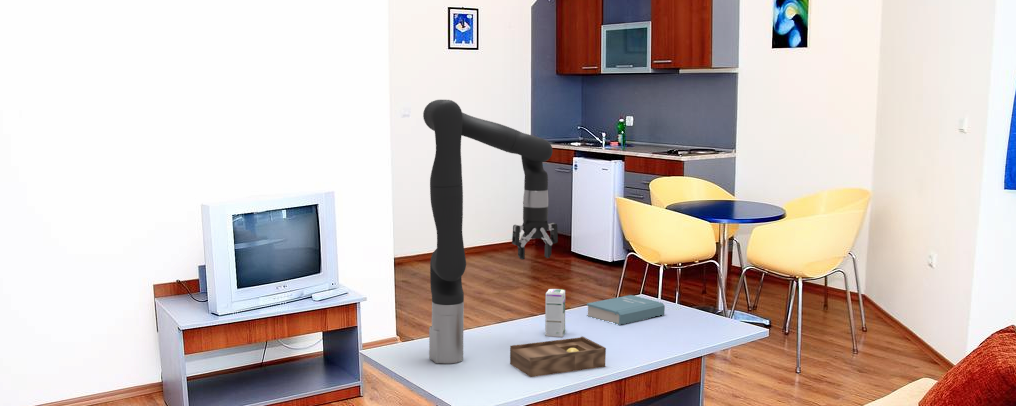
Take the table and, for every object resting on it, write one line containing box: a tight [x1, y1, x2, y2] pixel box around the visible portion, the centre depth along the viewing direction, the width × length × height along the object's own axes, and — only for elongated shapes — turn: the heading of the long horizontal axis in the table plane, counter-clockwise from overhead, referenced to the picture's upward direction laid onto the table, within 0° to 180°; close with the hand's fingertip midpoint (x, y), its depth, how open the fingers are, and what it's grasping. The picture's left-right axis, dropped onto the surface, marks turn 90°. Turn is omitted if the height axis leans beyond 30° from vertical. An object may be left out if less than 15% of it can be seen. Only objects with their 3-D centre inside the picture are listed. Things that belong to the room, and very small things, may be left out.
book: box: [586, 294, 666, 326], centre depth 314 cm, size 23×16×5 cm
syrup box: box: [544, 288, 566, 338], centre depth 288 cm, size 6×6×14 cm
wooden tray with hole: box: [509, 335, 607, 378], centre depth 256 cm, size 24×13×6 cm, turn 115°
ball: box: [567, 348, 579, 352], centre depth 258 cm, size 5×5×5 cm
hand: (534, 258), depth 269 cm, fingers open, 8 cm apart
